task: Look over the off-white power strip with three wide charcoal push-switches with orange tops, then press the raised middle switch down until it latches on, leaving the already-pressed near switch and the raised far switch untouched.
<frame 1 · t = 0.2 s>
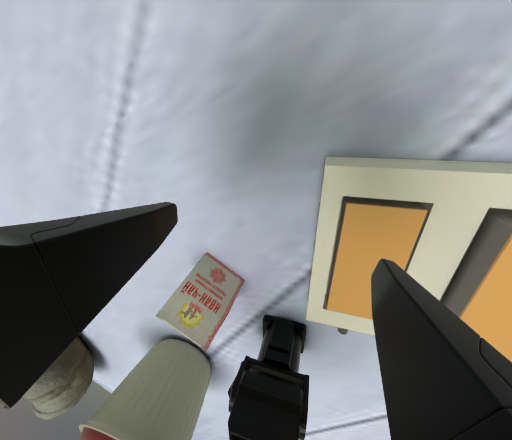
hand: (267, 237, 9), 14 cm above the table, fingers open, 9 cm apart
gourd: (74, 341, 65), on the table
canister: (187, 353, 48), on the table
switch a: (365, 260, 22), point 2 cm above the table, slide at 2.0 cm
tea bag: (220, 271, 32), on the table
switch b: (506, 296, 17), point 4 cm above the table, slide at 0.0 cm
power strip: (474, 261, 21), on the table
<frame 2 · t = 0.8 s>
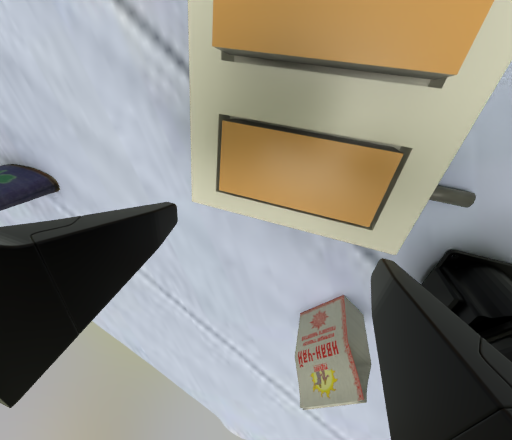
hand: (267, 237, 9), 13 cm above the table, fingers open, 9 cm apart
flask: (34, 176, 32), on the table
switch a: (298, 170, 18), point 2 cm above the table, slide at 2.0 cm
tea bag: (330, 312, 28), on the table
power strip: (335, 22, 15), on the table
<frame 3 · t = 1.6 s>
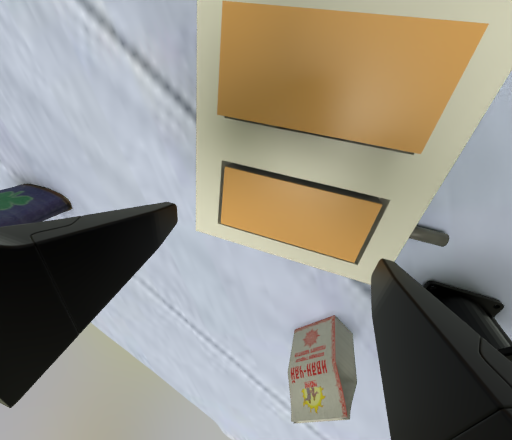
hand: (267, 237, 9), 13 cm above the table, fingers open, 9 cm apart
flask: (48, 195, 35), on the table
switch a: (292, 209, 20), point 2 cm above the table, slide at 2.0 cm
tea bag: (322, 330, 30), on the table
switch b: (324, 81, 13), point 4 cm above the table, slide at 0.0 cm
power strip: (325, 86, 17), on the table
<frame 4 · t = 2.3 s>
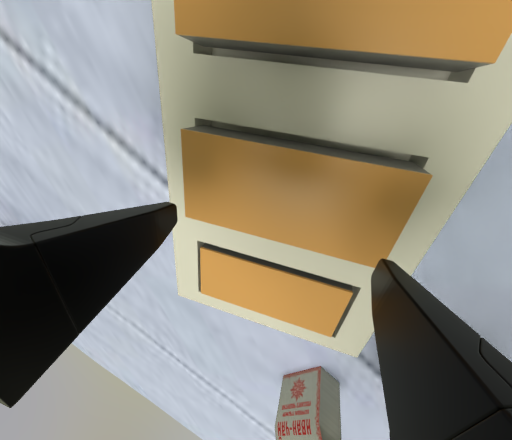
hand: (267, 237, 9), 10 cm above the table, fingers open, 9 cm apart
switch a: (269, 282, 20), point 2 cm above the table, slide at 2.0 cm
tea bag: (310, 377, 30), on the table
switch b: (286, 192, 14), point 4 cm above the table, slide at 0.0 cm
power strip: (295, 173, 17), on the table
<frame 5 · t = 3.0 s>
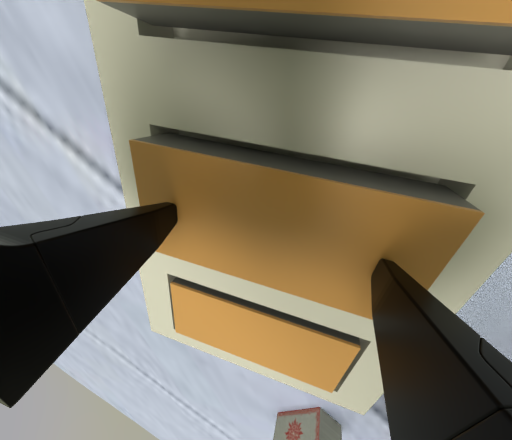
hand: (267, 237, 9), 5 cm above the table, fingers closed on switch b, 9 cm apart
switch a: (257, 322, 17), point 2 cm above the table, slide at 2.0 cm
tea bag: (307, 416, 27), on the table
switch b: (273, 221, 10), point 4 cm above the table, slide at 0.5 cm, touching gripper
power strip: (287, 193, 14), on the table
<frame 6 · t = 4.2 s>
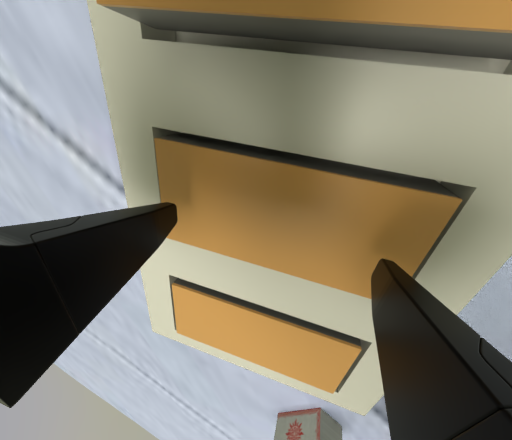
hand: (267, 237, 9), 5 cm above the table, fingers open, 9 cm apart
switch a: (258, 323, 17), point 2 cm above the table, slide at 2.0 cm
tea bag: (308, 417, 27), on the table
switch b: (280, 211, 12), point 3 cm above the table, slide at 1.9 cm
power strip: (288, 194, 14), on the table
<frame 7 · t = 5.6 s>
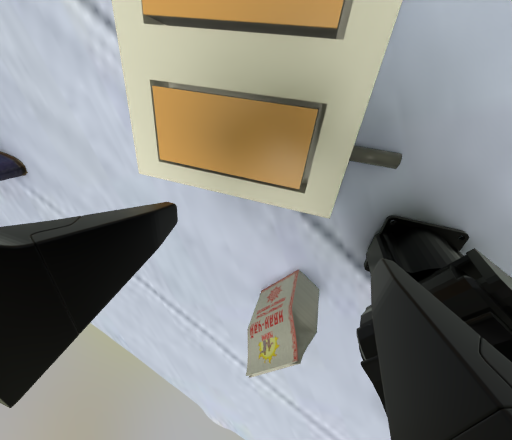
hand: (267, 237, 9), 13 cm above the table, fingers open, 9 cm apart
flask: (3, 160, 33), on the table
switch a: (233, 136, 18), point 2 cm above the table, slide at 2.0 cm
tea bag: (289, 289, 28), on the table
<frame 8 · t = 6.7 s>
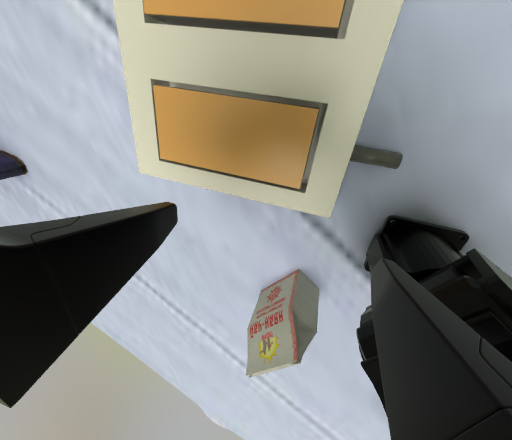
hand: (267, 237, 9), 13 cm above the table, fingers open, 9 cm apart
flask: (3, 159, 33), on the table
switch a: (233, 135, 18), point 2 cm above the table, slide at 2.0 cm
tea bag: (288, 288, 28), on the table
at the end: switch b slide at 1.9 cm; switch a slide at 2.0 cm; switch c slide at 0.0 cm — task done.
